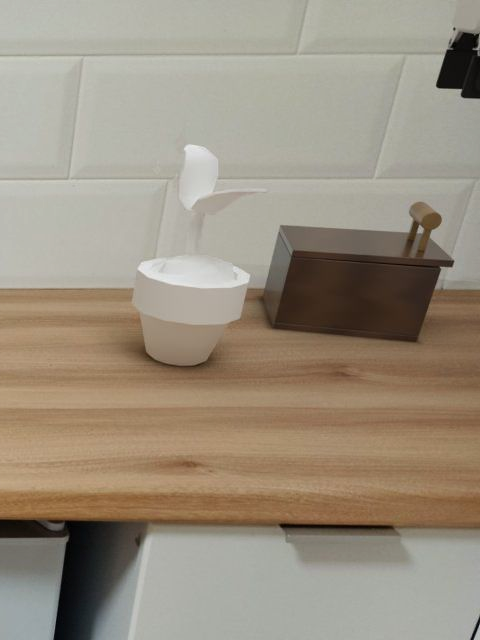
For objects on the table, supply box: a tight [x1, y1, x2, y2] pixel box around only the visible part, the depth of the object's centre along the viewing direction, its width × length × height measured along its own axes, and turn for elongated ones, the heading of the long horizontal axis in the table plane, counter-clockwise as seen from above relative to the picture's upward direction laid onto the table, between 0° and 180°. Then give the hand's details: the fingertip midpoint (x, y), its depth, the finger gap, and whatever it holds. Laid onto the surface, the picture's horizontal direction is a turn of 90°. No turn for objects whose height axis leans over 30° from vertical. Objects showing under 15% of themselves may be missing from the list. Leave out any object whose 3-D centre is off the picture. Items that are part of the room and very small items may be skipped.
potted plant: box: [131, 123, 269, 367], centre depth 93 cm, size 13×12×25 cm
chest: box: [262, 231, 442, 343], centre depth 109 cm, size 16×13×9 cm
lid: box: [278, 201, 455, 268], centre depth 105 cm, size 17×13×5 cm
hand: (463, 93), depth 97 cm, fingers open, 9 cm apart
